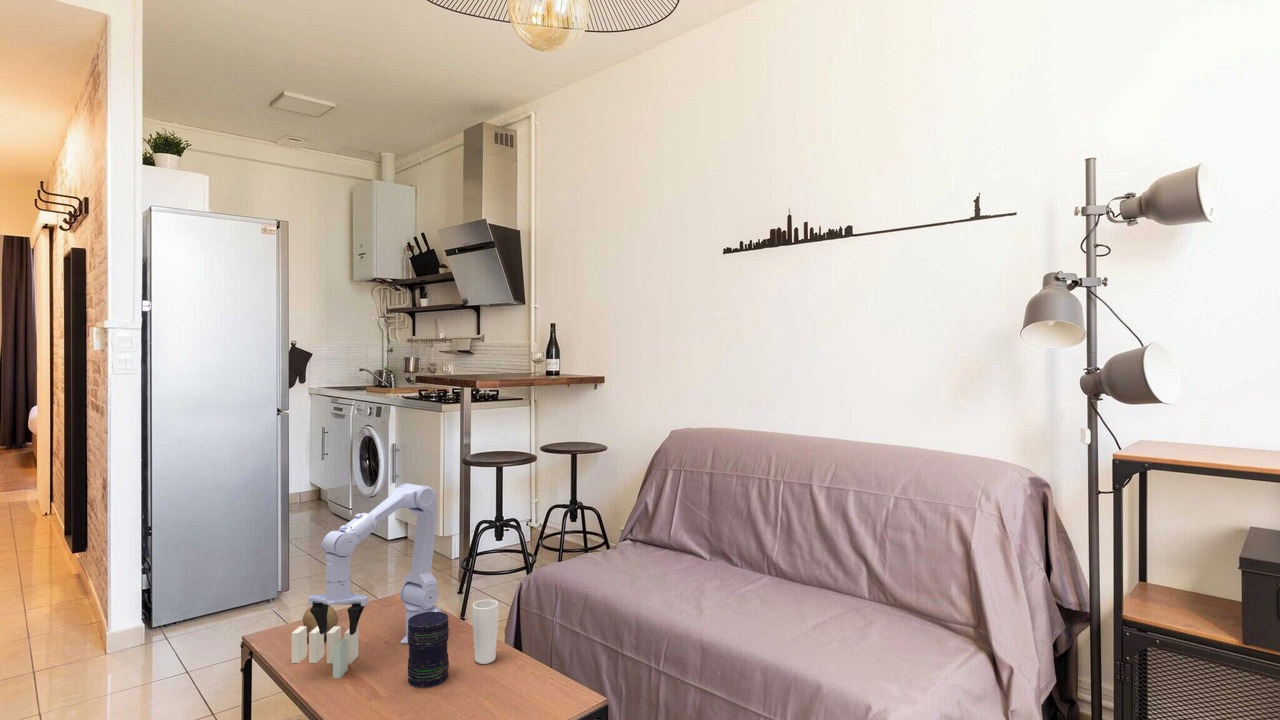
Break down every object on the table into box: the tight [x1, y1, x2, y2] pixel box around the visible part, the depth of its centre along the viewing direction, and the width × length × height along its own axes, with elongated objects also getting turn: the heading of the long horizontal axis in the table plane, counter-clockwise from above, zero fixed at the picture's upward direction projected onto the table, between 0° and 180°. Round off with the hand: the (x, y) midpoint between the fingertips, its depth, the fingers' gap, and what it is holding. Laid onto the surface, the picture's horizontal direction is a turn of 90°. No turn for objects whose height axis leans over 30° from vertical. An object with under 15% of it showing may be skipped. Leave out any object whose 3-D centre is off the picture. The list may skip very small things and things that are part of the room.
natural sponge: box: [302, 605, 339, 637], centre depth 192 cm, size 9×9×10 cm
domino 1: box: [291, 625, 308, 664], centre depth 178 cm, size 2×4×8 cm, turn 0°
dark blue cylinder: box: [407, 611, 450, 689], centre depth 168 cm, size 10×10×15 cm
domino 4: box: [332, 638, 349, 679], centre depth 170 cm, size 2×4×8 cm, turn 0°
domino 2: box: [308, 626, 325, 664], centre depth 178 cm, size 2×4×8 cm, turn 0°
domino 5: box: [343, 625, 359, 665], centre depth 178 cm, size 2×4×8 cm, turn 0°
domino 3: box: [326, 625, 342, 665], centre depth 178 cm, size 2×4×8 cm, turn 0°
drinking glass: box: [471, 599, 499, 665], centre depth 178 cm, size 7×7×15 cm
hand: (338, 632), depth 170 cm, fingers open, 7 cm apart
